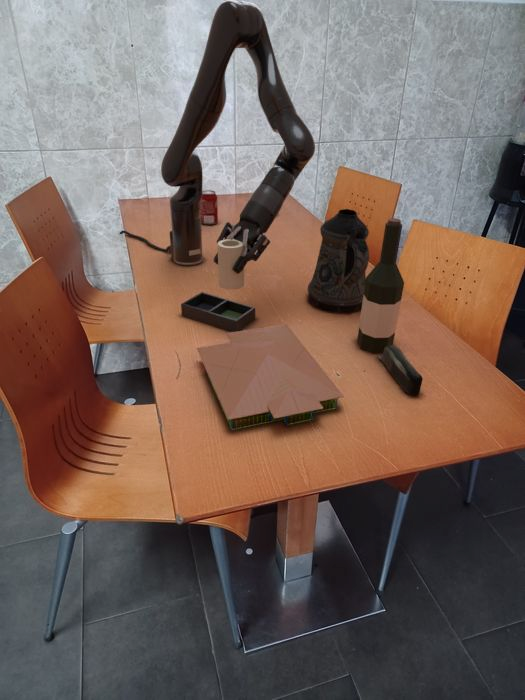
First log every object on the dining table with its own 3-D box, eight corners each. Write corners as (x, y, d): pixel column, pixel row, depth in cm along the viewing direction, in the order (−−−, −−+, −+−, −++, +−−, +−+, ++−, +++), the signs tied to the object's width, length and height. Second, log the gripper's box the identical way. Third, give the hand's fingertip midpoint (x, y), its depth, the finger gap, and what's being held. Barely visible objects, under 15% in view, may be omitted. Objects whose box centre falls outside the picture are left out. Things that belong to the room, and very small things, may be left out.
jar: (214, 286, 121) (212, 244, 116) (228, 277, 126) (227, 237, 120) (235, 291, 118) (234, 249, 113) (248, 283, 123) (248, 242, 117)
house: (232, 443, 88) (232, 407, 84) (192, 350, 115) (190, 319, 111) (348, 418, 95) (353, 383, 91) (285, 335, 121) (287, 305, 117)
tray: (181, 315, 129) (180, 303, 128) (202, 303, 136) (201, 291, 134) (236, 333, 122) (236, 321, 120) (255, 319, 128) (255, 307, 127)
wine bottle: (371, 357, 114) (392, 228, 98) (349, 340, 120) (366, 216, 105) (399, 349, 117) (424, 223, 102) (377, 333, 124) (396, 212, 108)
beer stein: (332, 283, 149) (340, 198, 136) (387, 304, 137) (402, 214, 124) (294, 299, 139) (300, 209, 126) (351, 324, 127) (363, 228, 114)
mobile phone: (426, 376, 99) (390, 337, 111) (412, 378, 98) (378, 339, 111) (421, 396, 102) (387, 356, 114) (408, 398, 101) (375, 358, 113)
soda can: (215, 226, 193) (214, 194, 187) (198, 224, 194) (197, 193, 188) (219, 221, 199) (219, 190, 192) (203, 219, 200) (202, 189, 193)
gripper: (234, 193, 121) (197, 251, 120) (276, 205, 112) (237, 268, 111) (250, 211, 127) (215, 266, 126) (291, 224, 118) (254, 284, 117)
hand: (225, 267), depth 118 cm, fingers closed on jar, 6 cm apart
